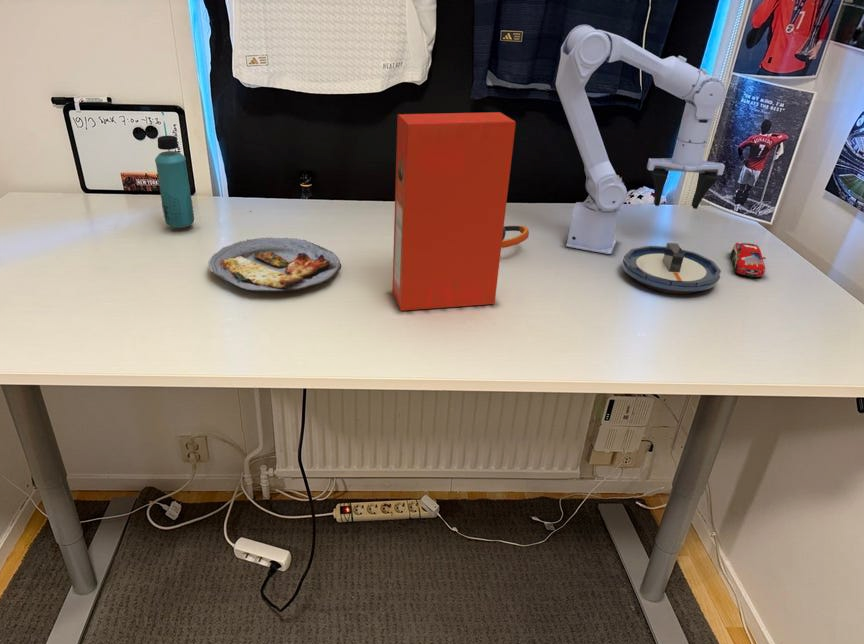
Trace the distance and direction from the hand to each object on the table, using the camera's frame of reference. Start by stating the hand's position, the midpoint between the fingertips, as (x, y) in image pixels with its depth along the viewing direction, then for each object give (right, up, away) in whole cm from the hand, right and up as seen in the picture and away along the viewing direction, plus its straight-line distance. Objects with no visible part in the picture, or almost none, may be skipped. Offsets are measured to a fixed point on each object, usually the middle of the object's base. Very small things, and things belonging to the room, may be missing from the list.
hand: (675, 205), depth 143 cm
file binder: (-51, -21, -18) cm, 58 cm away
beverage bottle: (-106, -3, +8) cm, 107 cm away
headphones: (-40, -8, +3) cm, 41 cm away
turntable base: (-5, -17, -9) cm, 19 cm away
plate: (-5, -15, -10) cm, 19 cm away
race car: (+13, -13, -3) cm, 19 cm away
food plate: (-82, -15, -10) cm, 84 cm away
